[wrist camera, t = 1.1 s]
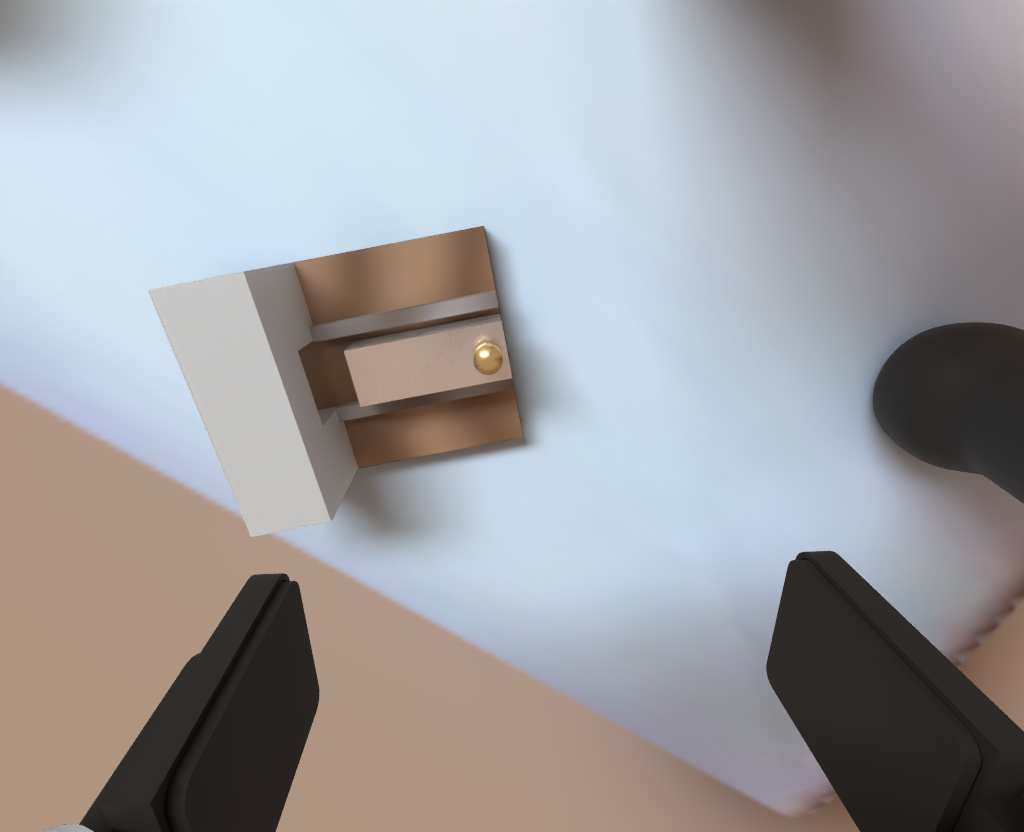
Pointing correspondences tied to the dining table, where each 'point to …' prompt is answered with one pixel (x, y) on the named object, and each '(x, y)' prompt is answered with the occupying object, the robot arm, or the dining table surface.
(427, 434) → the lock base
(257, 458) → the door edge
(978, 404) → the cola bottle
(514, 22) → the dining table surface
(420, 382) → the bolt
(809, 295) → the dining table surface
